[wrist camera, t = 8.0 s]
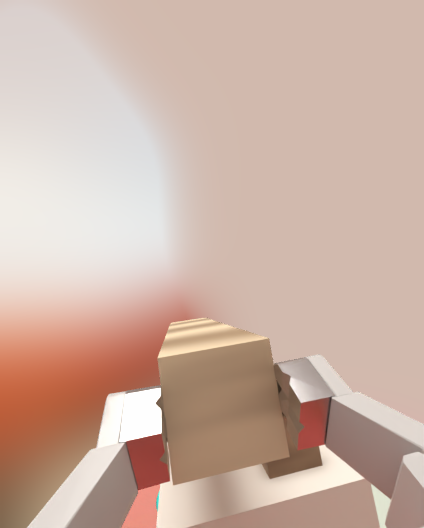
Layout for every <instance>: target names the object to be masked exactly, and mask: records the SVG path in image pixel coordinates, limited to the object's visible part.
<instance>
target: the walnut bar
mask: <svg viewBox="0 0 424 528" xmlns="http://www.w3.org/2000/svg"><path fill="white" fill-rule="evenodd" d="M283 421H284V427H285V433H286V438H287V444H288V450H289V456H290V457H287V458H283V459H279V460H275V461H271V462H267V463H263V464H262V466H263V468H264V469H265V471H266V473H267V475H268V477H269V478H270V479H272V478H276V477H280V476H284V475H288V474H292V473H295V472H299V471H303V470H307V469H311V468H315V467H318V466H322V465H323V464H322V459H321V454H320V449H319V446H316V447H311V448H306V449H302V450H297V449H296V447H295V445H294V442H293V440H292V438H291V436H290V434H289V432H288V430H287V420H286V419H284V418H283Z"/></svg>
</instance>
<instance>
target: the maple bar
mask: <svg viewBox="0 0 424 528" xmlns="http://www.w3.org/2000/svg"><path fill="white" fill-rule="evenodd" d="M158 365H159V374H160V382H161V386H162V393H163V404H164V416H165V418H166V426H167V441H168V449H169V457H170V466H171V474H172V482H173V485H178V484H182V483H186V482H190V481H194V480H198V479H202V478H206V477H210V476H214V475H218V474H222V473H226V472H230V471H234V470H239V469H243V468H247V467H251V466H255V465H259V464H263V463H267V462H271V461H275V460H279V459H283V458H287V457H290V456H289V450H288V444H287V438H286V433H285V427H284V421H283V416H282V411H281V408H280V402H279V396H278V394H279V393H278V387H277V381H276V378H275V373H274V364H273V358H272V353H271V347H270V342H269V338H266V337H263V336H260V335H257V334H254V333H251V332H248V331H245V330H241V329H238V328H235V327H232V326H229V325H226V324H223V323H220V322H217V321H214V320H211V319H208V318H200V319H194V320H187V321H181V322H175V323H171V324H170V326H169V329H168V332H167V334H166V337H165V340H164V342H163V345H162V348H161V350H160V353H159V356H158Z"/></svg>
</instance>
